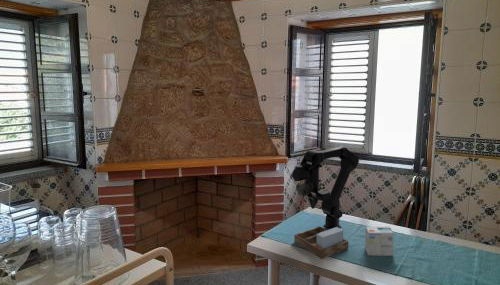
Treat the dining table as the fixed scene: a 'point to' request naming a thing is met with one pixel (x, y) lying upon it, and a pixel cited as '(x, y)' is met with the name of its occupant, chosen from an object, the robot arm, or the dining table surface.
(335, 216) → the robot arm
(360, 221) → the dining table surface
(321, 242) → the white rectangular box
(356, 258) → the dining table surface
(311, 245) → the rack
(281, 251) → the dining table surface
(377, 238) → the light bulb box
